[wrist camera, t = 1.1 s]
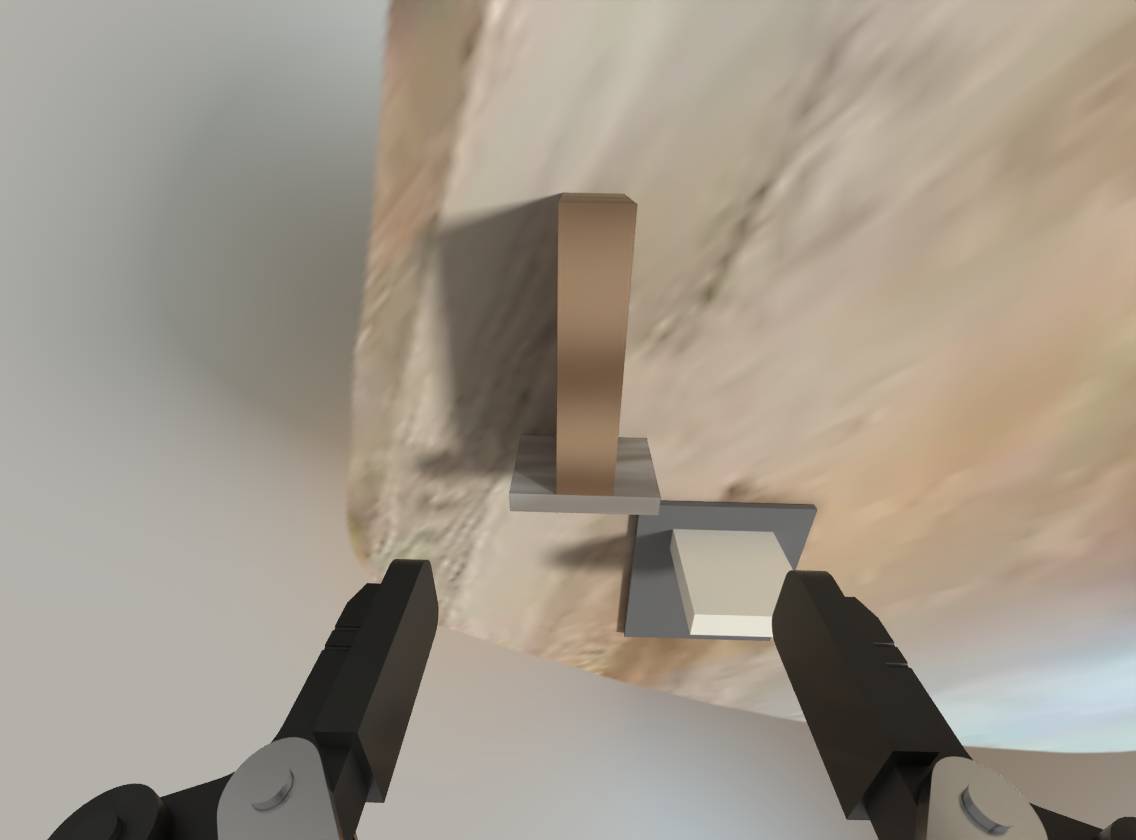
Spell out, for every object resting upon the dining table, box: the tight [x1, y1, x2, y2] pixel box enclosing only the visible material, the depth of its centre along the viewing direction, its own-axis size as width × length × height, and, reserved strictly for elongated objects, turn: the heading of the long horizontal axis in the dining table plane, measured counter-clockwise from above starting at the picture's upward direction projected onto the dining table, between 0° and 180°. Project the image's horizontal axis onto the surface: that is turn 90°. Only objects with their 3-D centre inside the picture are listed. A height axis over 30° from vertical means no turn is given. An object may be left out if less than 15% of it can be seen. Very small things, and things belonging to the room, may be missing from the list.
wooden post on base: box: [509, 193, 661, 515], centre depth 24 cm, size 15×8×6 cm, turn 179°
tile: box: [670, 529, 793, 637], centre depth 30 cm, size 2×7×7 cm, turn 89°
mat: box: [624, 501, 817, 641], centre depth 35 cm, size 14×12×1 cm
